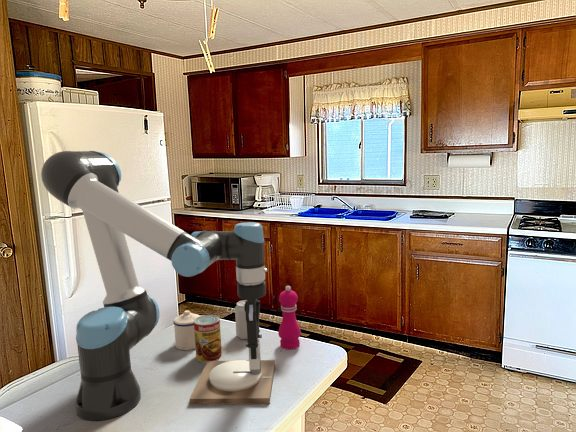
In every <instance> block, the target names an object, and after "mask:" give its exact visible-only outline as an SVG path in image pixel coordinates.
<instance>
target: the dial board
mask: <svg viewBox="0 0 576 432" xmlns="http://www.w3.org/2000/svg"><path fill="white" fill-rule="evenodd" d="M244 360H245V359H244ZM229 361H230V360H216V361H207V362H205V363H206V364H205V365H204V367H203V370H202V372H201V374H200V376H199V378H198V380H197V382H196V385H195V387H194V389H193V391H192V393H191V395H190V397H189V405H192V406H193V405H270V402H271V397H272V388H273V384H274V383H273V382H274V376H275V375H274V374H275V368H276V360H275V359H268V360H267V359H265V360H262V359H261V379H260V381H259V382H258V383H257V384H256V385H254V386H253V387H251V388H248V389H245V390H241V391H234V392H228V391H221V390H218V389H216V388H214V387H213V386H212V385H211V384H210V379H209V374H210V372H211V370H212V369H213V368H214V367H216V366H218V365H220V364H222V363H225V362H229ZM245 361H249V359H248V360H245Z"/></svg>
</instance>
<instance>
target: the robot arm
mask: <svg viewBox="0 0 576 432" xmlns="http://www.w3.org/2000/svg"><path fill="white" fill-rule="evenodd" d="M40 177H41V181H42V184H43V186H44V188H45V190H46V191H48V193H49V195H51V196H53V197H54V198H55V199H56V200H58V201H59V202H60V203H63V204H64V205H66V206H68V207H70V208H71V209H76V210H77V209H79V210H81V211H82V213H83V217H84V220H85V224H86V227H87V230H88V231H87V232H88V234H89V237H90V241H91V244H92V248H93V252H94V254H95V259H96V262H97V265H98V269H99V272H100V275H101V279H102V282H103V286H104V289H105V292H106V295H105V297H104V299H103V301H102V304H103V307H100V308H98V309H97V310H96V309H95V310H92V311H89V312H87V313H86V314H84V315H83V316H82V317H81V318H80V319H79V320H78V321H77V324H76V334H75V339H76V340H75V341H76V344H77V345H76V346H77V353H78V354H77V355H78V362H79V371H80V384H79V388H78V393H77V395H76V399H75V400H76V401H75V410H76V414H77V415H78V416H77V417H80V418H81V419H83V420H85V421H104V420H109V419H112V418H116V417H119V416H121V415H124V414H126V413H127V412H129V411H131V410H132V409H133V408H135V407H136V406H137V404H138V403H140V400H141V398H142V397H141V396H142V394H141V387H140V385H139V383H138V380H137V378H136V376H135V374H134V371H133V370H132V365H131V364H132V363H131V354H130V353H131V349H133V348H134V347H135V346H136V345H138V344H139V343H140V341H142V340H143V339H145V338H146V337H147V336H149V335H150V334H151V333H152V331H154V329H155V328H156V327H157V325H158V323H159V319H160V307H159V305H158V303H157V301H156V300H155V299H154V298H152V297H151V295H150V294H148V292H147V289H146V288H145V287H144V286H142V285H140V284H139V281H138V278H137V274H136V271H135V268H134V267H135V266H134V264H133V260H132V257H131V252H130V250H129V246H128V245H129V244H128V242H127V239H126V236H128V237H130V238H131V239H133V240H134V241H136V242H138V243H140V244H142V245H144V246H145V247H146V248H148V249H150V250H152V251H153V252H155V253H157V254H158V255H160V256H161V257H164V258H166V260H169V261H170V262H171V266H172V267H173V269H174V271H175V272H176V273H177V274H178V275H179V276H182V277H186V278H188V277H189V278H191V277H194V276H196V275H198V274H201V273H203V272H204V271H205V270H206V269H208V267H210V266H211V265H212V264H214V263H215V262H216V261H223V260H231V261H232V260H233V261H234V260H235V273H236V274H235V275H236V276H235V277H236V281H237V284H236V286H237V287H236V288H237V289H236V291H237V296H238V298H239V299H241V300H247V301H245V305H244V310H245V312H246V315H245V316H246V322H247V339H246V340H247V343H246V344H245V348H248V360H249V370H255V369H260V361H259V345H258V342H259V343H260V341H261V340H260V339H263V337H262V336H263V335H262V334H260V332H261V330H260V313H261V311H260V307H261V300H259V299H262V298H264V297H265V296H266V294H267V284H266V281H265V280H266V273H267V272H268V269H267V268H266V266H265V264H266V263H265V261H266V260H265V237H264V229H263V225H262V224H261V223H259V222H254V221H252V222H251V221H248V222H240V223H236V224H234V229H233V230H230V231H229V230H225V231H224V230H222V231H220V230H219V231H217V230H202V231H193V232H192V233H191V234H189V233H188V232H187V231H184V230H183V229H181V228H179V227H178V226H176V225H174V224H172V223H171V222H169V221H167V220H166V219H164V218H162V217H161V216H159V215H157V214H155V213H154V212H152V211H150V210H149V209H147V208H145V207H143V206H141V205H140V204H138V203H136V202H134V200H131V199H130V198H128V197H126V196H125V195H123V194H122V193H120V192H119V188H118V187H119V186H120V182H121V181H122V170H121V168H120V165H119V163H118V162H117V161H116V160H115V159H114V158H113V157H112V156H111V155H109V154H107V153H105V152H101V151H100V152H99V151H95V150H86V151H85V150H82V151H80V150H79V151H77V150H76V151H75V150H73V151H72V150H63V151H59V152H56V153H53V154H52V155H50V156H49V157H48V158H47V159H46V160H45V161H44V163H43V164H42V168H41V174H40ZM260 344H261V343H260Z"/></svg>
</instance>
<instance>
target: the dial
mask: <svg viewBox="0 0 576 432" xmlns="http://www.w3.org/2000/svg"><path fill="white" fill-rule="evenodd" d="M258 345H259V361H260V369H255V370H249V361H245V359H244V360H243V359H239V360H238V359H236V360H228V361H229V362H225V363H222V364H220V365H218V366H216V367H214V368H213V369H212V370H211V372H210V374H209V379H210V384H211V385H212V386H213V387H214V388H216V389H218V390H221V391H228V392H234V391H241V390H245V389H248V388H251V387H253V386H254V385H256V384H257V383H258V382H259V381H260V379H261V360H262V358H261V357H262V356H261V343H259V342H258Z"/></svg>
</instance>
